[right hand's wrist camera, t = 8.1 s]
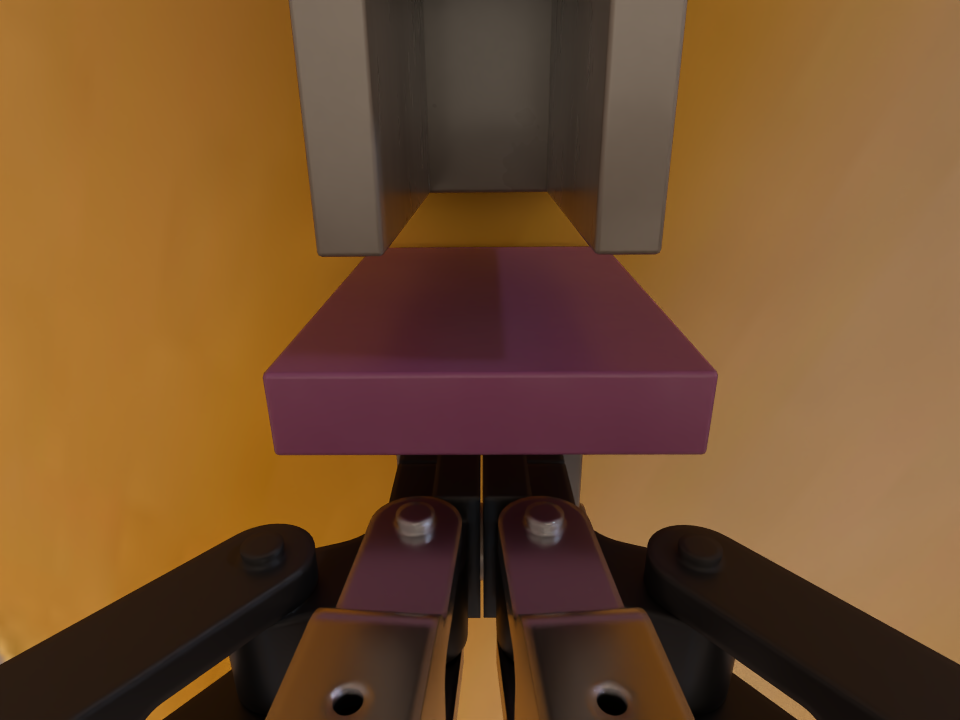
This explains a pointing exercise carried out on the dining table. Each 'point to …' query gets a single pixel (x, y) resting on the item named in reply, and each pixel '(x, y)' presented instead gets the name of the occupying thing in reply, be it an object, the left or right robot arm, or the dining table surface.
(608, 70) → the drawer
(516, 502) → the right robot arm
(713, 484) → the dining table surface
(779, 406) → the dining table surface
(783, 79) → the dining table surface
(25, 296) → the dining table surface
